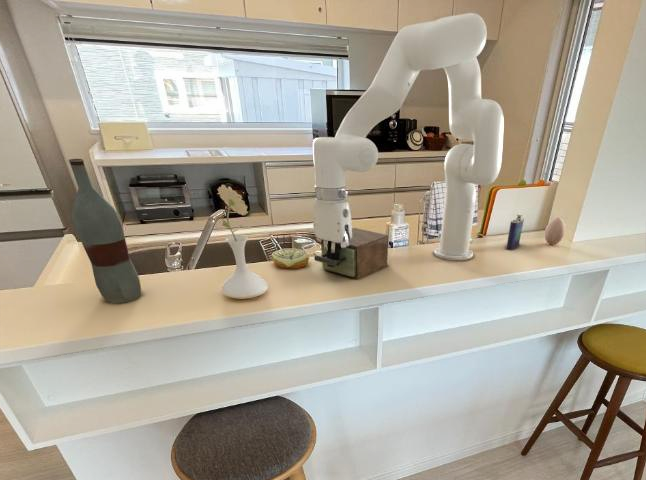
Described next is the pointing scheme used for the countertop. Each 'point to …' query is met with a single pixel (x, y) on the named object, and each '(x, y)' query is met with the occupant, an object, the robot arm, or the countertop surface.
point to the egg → (555, 231)
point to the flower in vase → (239, 254)
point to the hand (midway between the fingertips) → (333, 265)
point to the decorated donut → (290, 258)
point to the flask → (515, 233)
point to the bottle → (103, 241)
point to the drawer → (339, 261)
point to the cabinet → (368, 251)
